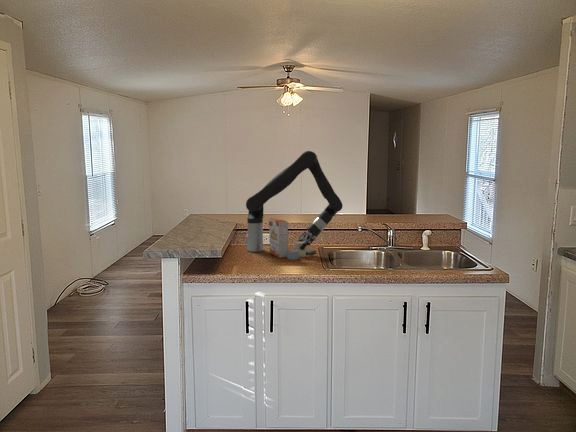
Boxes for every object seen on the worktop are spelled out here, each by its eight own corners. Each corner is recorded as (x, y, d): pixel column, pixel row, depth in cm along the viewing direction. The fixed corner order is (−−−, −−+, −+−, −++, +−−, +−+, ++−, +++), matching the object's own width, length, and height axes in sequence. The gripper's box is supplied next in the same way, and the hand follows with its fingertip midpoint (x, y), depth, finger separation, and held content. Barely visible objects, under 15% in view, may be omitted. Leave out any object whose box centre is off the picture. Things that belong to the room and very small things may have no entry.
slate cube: (287, 258, 273) (287, 251, 273) (292, 257, 277) (292, 249, 276) (293, 259, 271) (293, 252, 270) (298, 258, 274) (298, 250, 274)
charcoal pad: (295, 253, 288) (295, 250, 288) (303, 250, 294) (303, 248, 294) (308, 255, 282) (308, 252, 282) (316, 252, 289) (316, 250, 289)
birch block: (294, 255, 282) (294, 241, 280) (302, 254, 283) (302, 241, 282) (297, 257, 277) (297, 243, 276) (305, 256, 278) (305, 242, 277)
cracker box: (269, 253, 287) (268, 218, 284) (278, 252, 289) (278, 217, 286) (278, 258, 274) (278, 221, 271) (288, 257, 277) (288, 220, 274)
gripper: (308, 220, 287) (289, 241, 284) (317, 224, 273) (298, 245, 271) (316, 229, 289) (298, 249, 287) (325, 233, 275) (307, 254, 273)
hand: (298, 247), depth 279 cm, fingers open, 8 cm apart
